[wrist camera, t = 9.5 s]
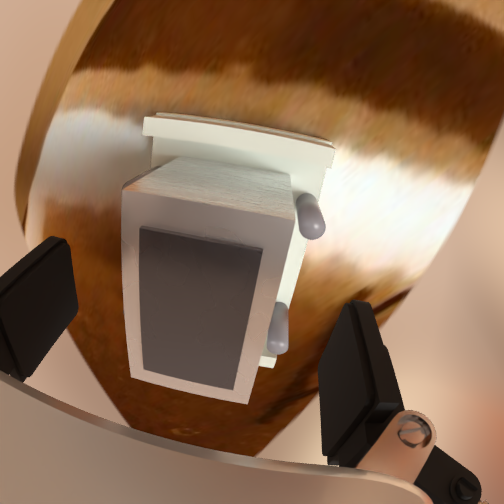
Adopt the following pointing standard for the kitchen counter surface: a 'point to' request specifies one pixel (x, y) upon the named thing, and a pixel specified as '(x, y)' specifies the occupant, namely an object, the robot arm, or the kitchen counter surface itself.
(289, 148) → the tray
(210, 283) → the box
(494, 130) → the kitchen counter surface
